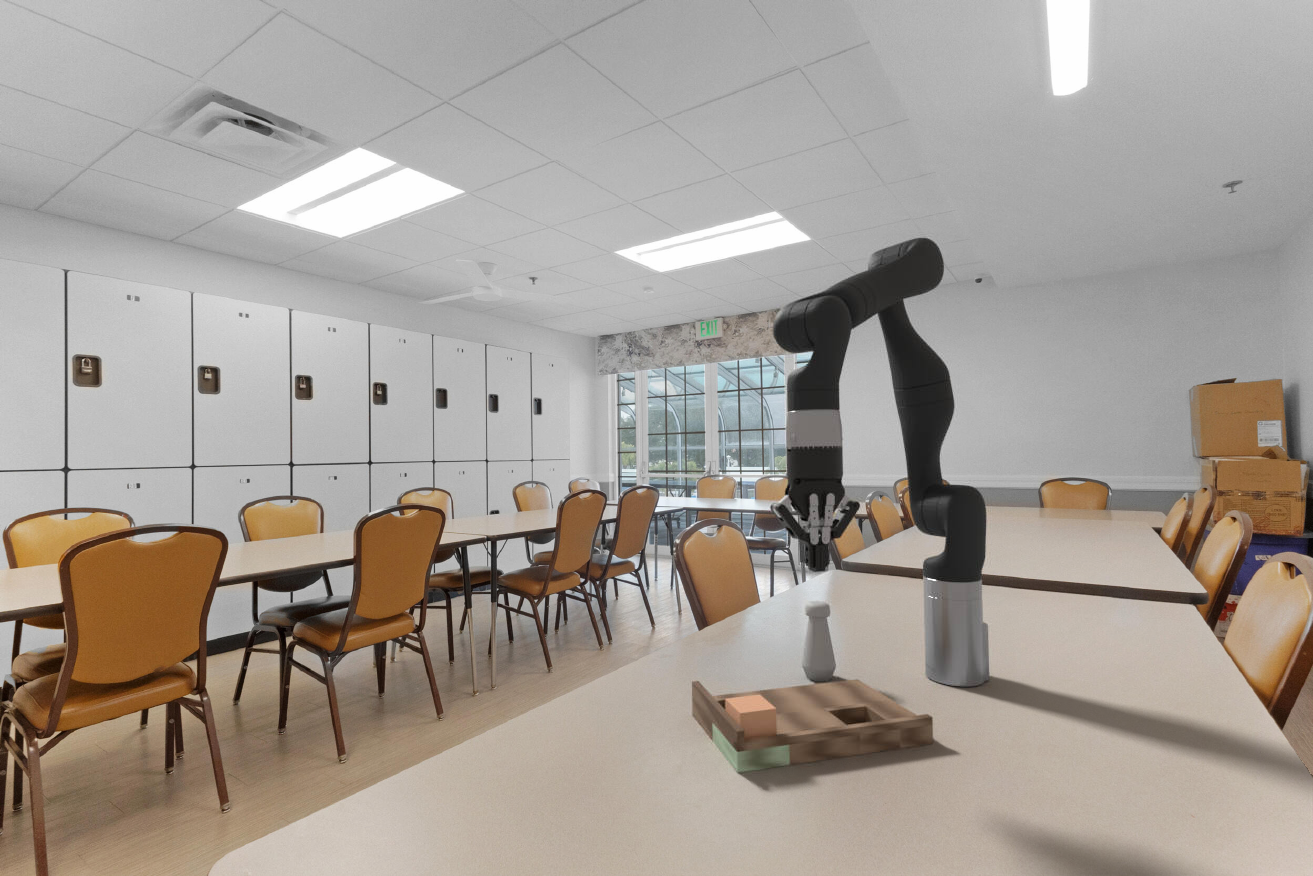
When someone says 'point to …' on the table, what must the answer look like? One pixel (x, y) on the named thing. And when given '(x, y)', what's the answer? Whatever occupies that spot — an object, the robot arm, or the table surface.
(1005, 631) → the table surface
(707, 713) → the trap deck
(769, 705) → the terracotta block
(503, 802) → the table surface
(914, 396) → the robot arm
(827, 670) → the salt shaker
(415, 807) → the table surface
